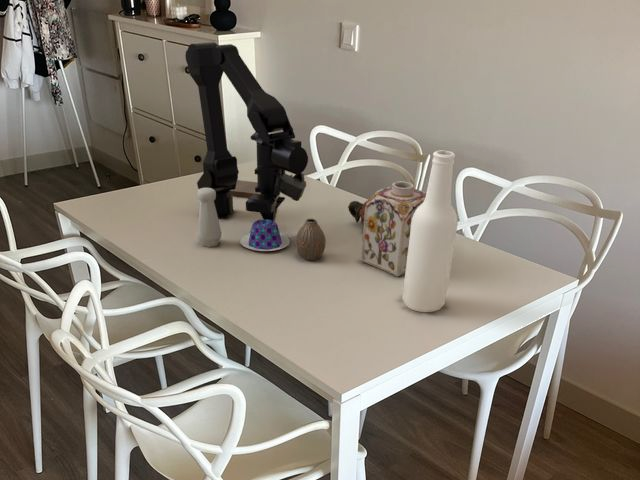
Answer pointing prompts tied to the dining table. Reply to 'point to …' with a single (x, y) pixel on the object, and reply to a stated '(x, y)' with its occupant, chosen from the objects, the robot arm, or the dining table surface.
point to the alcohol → (432, 240)
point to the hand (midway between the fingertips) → (270, 228)
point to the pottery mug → (357, 210)
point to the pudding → (264, 237)
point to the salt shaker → (208, 218)
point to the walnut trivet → (244, 189)
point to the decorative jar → (390, 226)
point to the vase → (310, 240)
